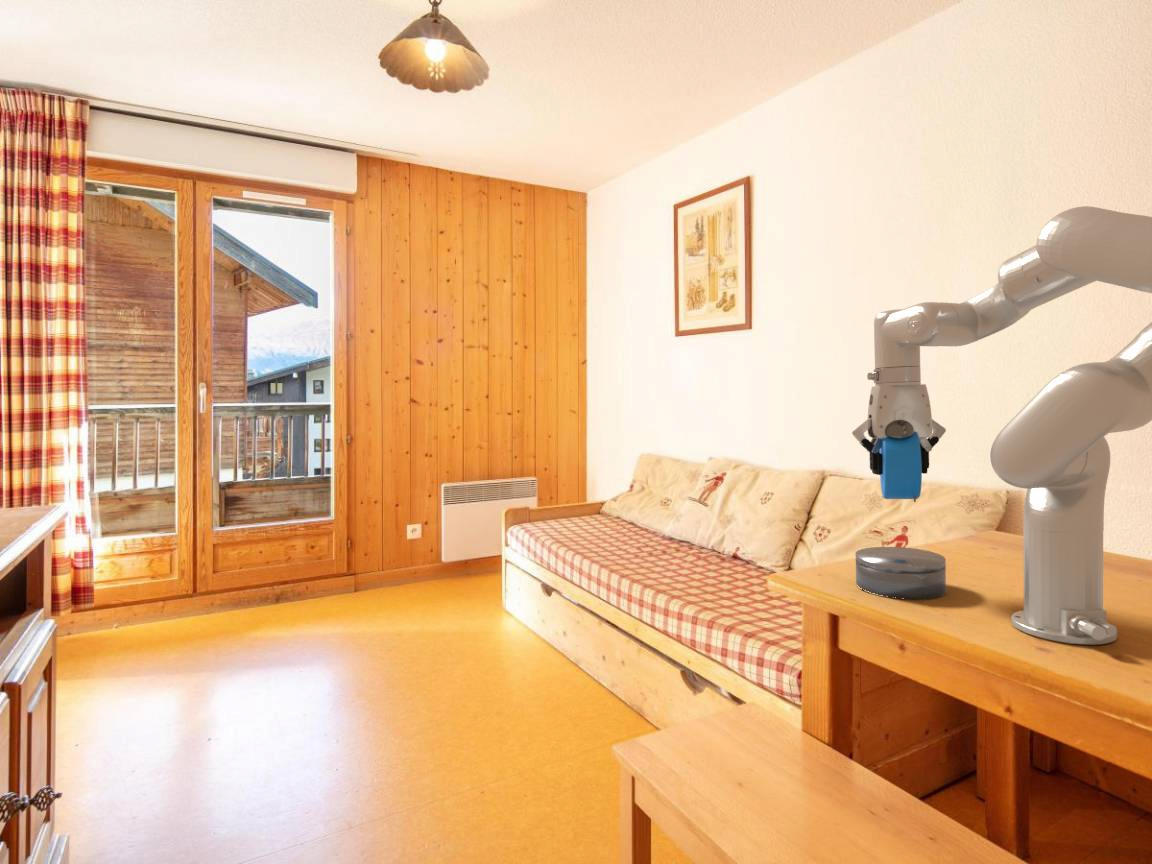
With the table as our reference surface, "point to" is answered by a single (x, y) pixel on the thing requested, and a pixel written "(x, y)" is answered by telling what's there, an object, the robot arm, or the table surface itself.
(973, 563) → the table surface
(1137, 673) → the table surface
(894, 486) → the alarm clock
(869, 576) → the round tin
